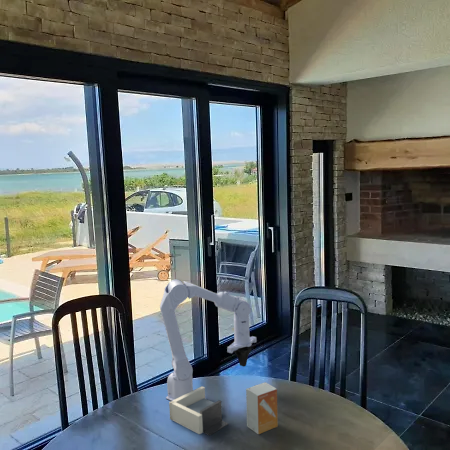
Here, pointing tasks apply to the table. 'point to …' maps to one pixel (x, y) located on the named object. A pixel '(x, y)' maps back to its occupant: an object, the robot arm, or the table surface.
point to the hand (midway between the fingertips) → (242, 365)
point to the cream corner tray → (188, 410)
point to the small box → (261, 407)
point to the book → (200, 405)
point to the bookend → (212, 418)
